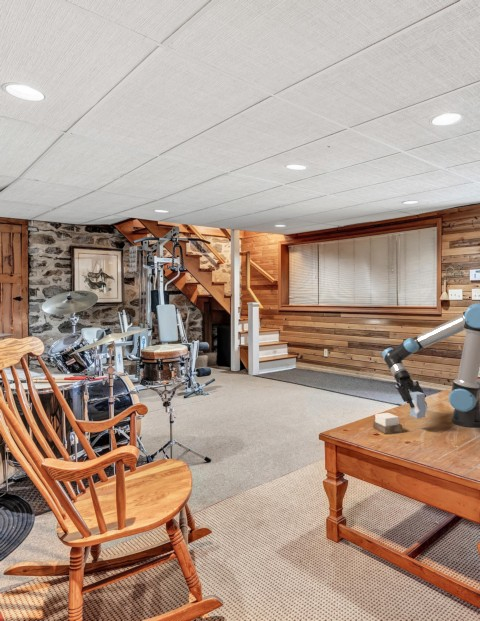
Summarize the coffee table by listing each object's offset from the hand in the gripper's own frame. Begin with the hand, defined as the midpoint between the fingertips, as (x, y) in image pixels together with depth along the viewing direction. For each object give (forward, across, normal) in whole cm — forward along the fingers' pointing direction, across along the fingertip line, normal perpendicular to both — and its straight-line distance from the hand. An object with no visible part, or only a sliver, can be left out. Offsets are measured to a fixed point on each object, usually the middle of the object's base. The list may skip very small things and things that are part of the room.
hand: (422, 411), depth 207 cm
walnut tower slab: (+1, +15, -13) cm, 20 cm away
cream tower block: (-1, +15, -10) cm, 18 cm away
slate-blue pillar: (0, 0, -5) cm, 5 cm away
